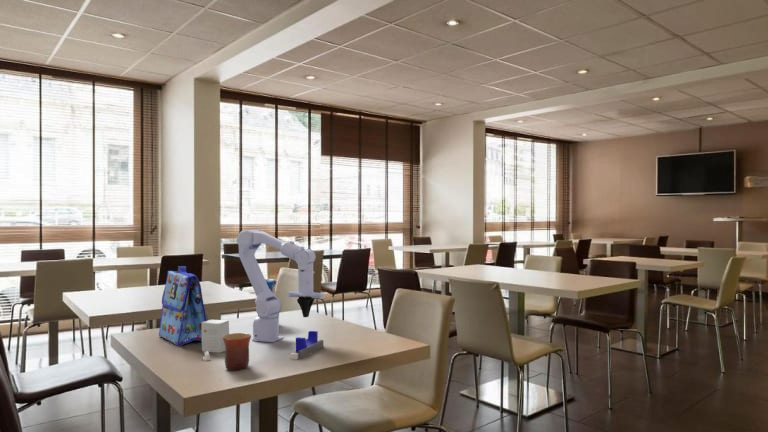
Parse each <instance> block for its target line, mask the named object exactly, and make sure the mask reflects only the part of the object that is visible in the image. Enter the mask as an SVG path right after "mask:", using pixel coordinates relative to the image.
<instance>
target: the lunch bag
mask: <svg viewBox="0 0 768 432" xmlns="http://www.w3.org/2000/svg"><path fill="white" fill-rule="evenodd" d="M161 305H162V307H161V313H160V314H161V315H160V322H159V331H158V336H159V337H162V338H164V339H165V340H167V341H169V342H171V343H173V344H174V345H176V346H178V347H182V346H183V345H185V344H189V343H192V342H193V341H200V342H202V327H201V323H202V322H205V321H208V319H207V314H206V309H205V307H206V306H205V304H204V298H203V293H202V286H201V282H200V280H199V278H198V277H197V275H195V274H193V273H188V272H187V266H186V265H185V266H184V265H183V266H182V265H181V266H179V265H178V266H177V271H176V270H174V271H173V270H168V271H167V274H166V282H165V285H164V289H163V293H162V297H161Z"/></svg>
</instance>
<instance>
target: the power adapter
mask: <svg viewBox="0 0 768 432" xmlns="http://www.w3.org/2000/svg"><path fill="white" fill-rule="evenodd" d="M203 353H204V356H202V361H203V362H206V361H210V360H211V357H210V356H211V355H210V352H208V351H206V352H205V351H203Z"/></svg>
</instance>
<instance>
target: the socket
mask: <svg viewBox="0 0 768 432" xmlns="http://www.w3.org/2000/svg"><path fill="white" fill-rule="evenodd" d="M324 345H325V344H324V339H318V341H317V342H315V343H313V344H311V345H309V346H308V347H306V348H304V349H302V350H300V351H298V353H296V352H291V353H290V355H289V357H290V358H289V359H290V360H296V361H297V360H298V359H300V360H302V359H304V358H306V357H307V356H309V355H311V354H313V353H315V352H317V351H318V350H320V349H323V348H324Z"/></svg>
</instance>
